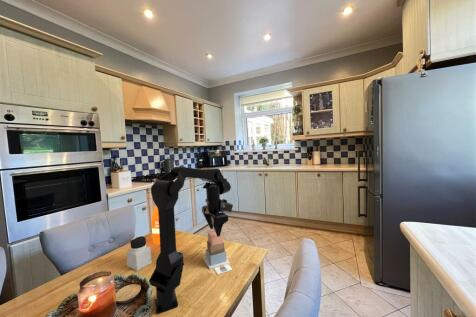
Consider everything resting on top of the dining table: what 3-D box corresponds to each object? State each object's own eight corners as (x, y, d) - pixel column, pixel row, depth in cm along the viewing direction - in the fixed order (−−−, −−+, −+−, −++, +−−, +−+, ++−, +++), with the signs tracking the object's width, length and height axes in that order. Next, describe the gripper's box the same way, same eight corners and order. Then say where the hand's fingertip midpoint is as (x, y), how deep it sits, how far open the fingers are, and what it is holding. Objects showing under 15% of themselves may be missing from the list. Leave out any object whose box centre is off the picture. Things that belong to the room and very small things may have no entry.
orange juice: (167, 245, 107) (165, 207, 106) (152, 244, 109) (150, 207, 108) (175, 238, 114) (173, 203, 113) (161, 237, 116) (159, 203, 115)
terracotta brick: (222, 242, 88) (222, 233, 88) (211, 245, 85) (211, 236, 85) (218, 238, 92) (218, 229, 92) (208, 241, 90) (207, 232, 90)
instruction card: (232, 269, 82) (232, 268, 82) (217, 274, 80) (217, 273, 80) (228, 264, 86) (228, 263, 86) (214, 268, 84) (214, 267, 84)
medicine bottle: (152, 262, 90) (150, 236, 90) (137, 271, 84) (135, 243, 84) (142, 258, 94) (140, 233, 94) (127, 266, 88) (125, 239, 87)
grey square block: (229, 263, 87) (229, 252, 87) (209, 269, 83) (209, 258, 83) (222, 254, 95) (221, 244, 95) (203, 259, 91) (203, 248, 91)
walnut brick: (224, 252, 87) (224, 243, 87) (211, 255, 85) (210, 246, 85) (220, 246, 93) (219, 237, 93) (207, 249, 90) (206, 240, 90)
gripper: (239, 198, 83) (240, 236, 84) (222, 191, 100) (224, 222, 100) (213, 203, 78) (215, 242, 79) (200, 194, 95) (202, 226, 96)
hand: (214, 232), depth 89 cm, fingers open, 9 cm apart
